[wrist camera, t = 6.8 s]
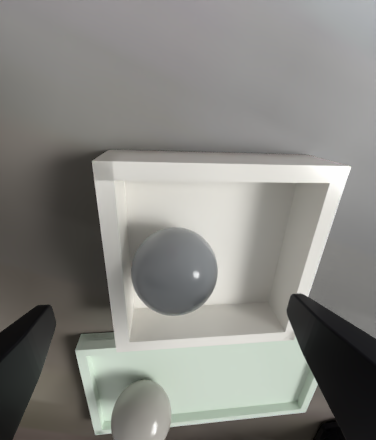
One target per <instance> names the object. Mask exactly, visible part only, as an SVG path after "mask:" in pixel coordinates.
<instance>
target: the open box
mask: <svg viewBox="0 0 376 440" xmlns="http://www.w3.org/2000/svg"><path fill="white" fill-rule="evenodd" d="M92 167H93V174H94V182H95V190H96V197H97V205H98V213H99V220H100V228H101V236H102V244H103V251H104V259H105V267H106V274H107V282H108V290H109V297H110V305H111V313H112V321H113V328H114V336H115V344H116V351H117V352H129V351H144V350H158V349H172V348H187V347H201V346H215V345H229V344H244V343H258V342H272V341H286V340H294V339H295V334H294V331H293V329H292V326H291V324H290V321H289V319H288V316H287V306H288V302H289V299H290V296H291V295H292V294H297V293H301V294H304V295H306V296H307V297H308V296H309V293H310V290H311V287H312V284H313V281H314V278H315V275H316V272H317V269H318V266H319V263H320V259H321V256H322V253H323V250H324V247H325V244H326V241H327V238H328V235H329V232H330V229H331V226H332V223H333V220H334V217H335V214H336V211H337V208H338V205H339V202H340V199H341V196H342V193H343V190H344V186H345V183H346V180H347V177H348V174H349V171H350V168H351V166H348V165H344V164H341V163H337V162H333V161H330V160H326V159H322V158H318V157H315V156H311V155H300V154H262V153H224V152H187V151H149V150H111V149H109V150H108V151H106V152H105V153H103V154H102V155H100V156H98V157H97V158H95V159H94V160H92ZM169 227H181V228H186V229H189V230H192V231H194V232H196V233H197V234H199V235H200V236H202V237H203V238H204V239H205V240H206V241H207V242H208V244H209V245H210V246H211V248H212V250H213V252H214V254H215V257H216V260H217V266H218V276H217V282H216V285H215V288H214V290H213V292H212V294H211V296H210V297H209V299H208V300H207V301H206V302H205V303H204V304H203V305H202V306H201V307H199V308H198V309H197V310H195V311H193V312H191V313H188V314H185V315H180V316H167V315H163V314H160V313H157V312H155V311H153V310H151V309H150V308H148V307H147V306H146V305H145V304H144V303H143V302H142V301H141V300H140V298H139V297H138V296H137V294H136V292H135V290H134V287H133V284H132V279H131V265H132V260H133V257H134V254H135V252H136V250H137V249H138V247H139V246H140V244H141V243H142V242H143V241H144V240H145V239H146V238H147V237H148V236H149V235H151V234H152V233H154V232H156V231H158V230H161V229H164V228H169Z"/></svg>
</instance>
